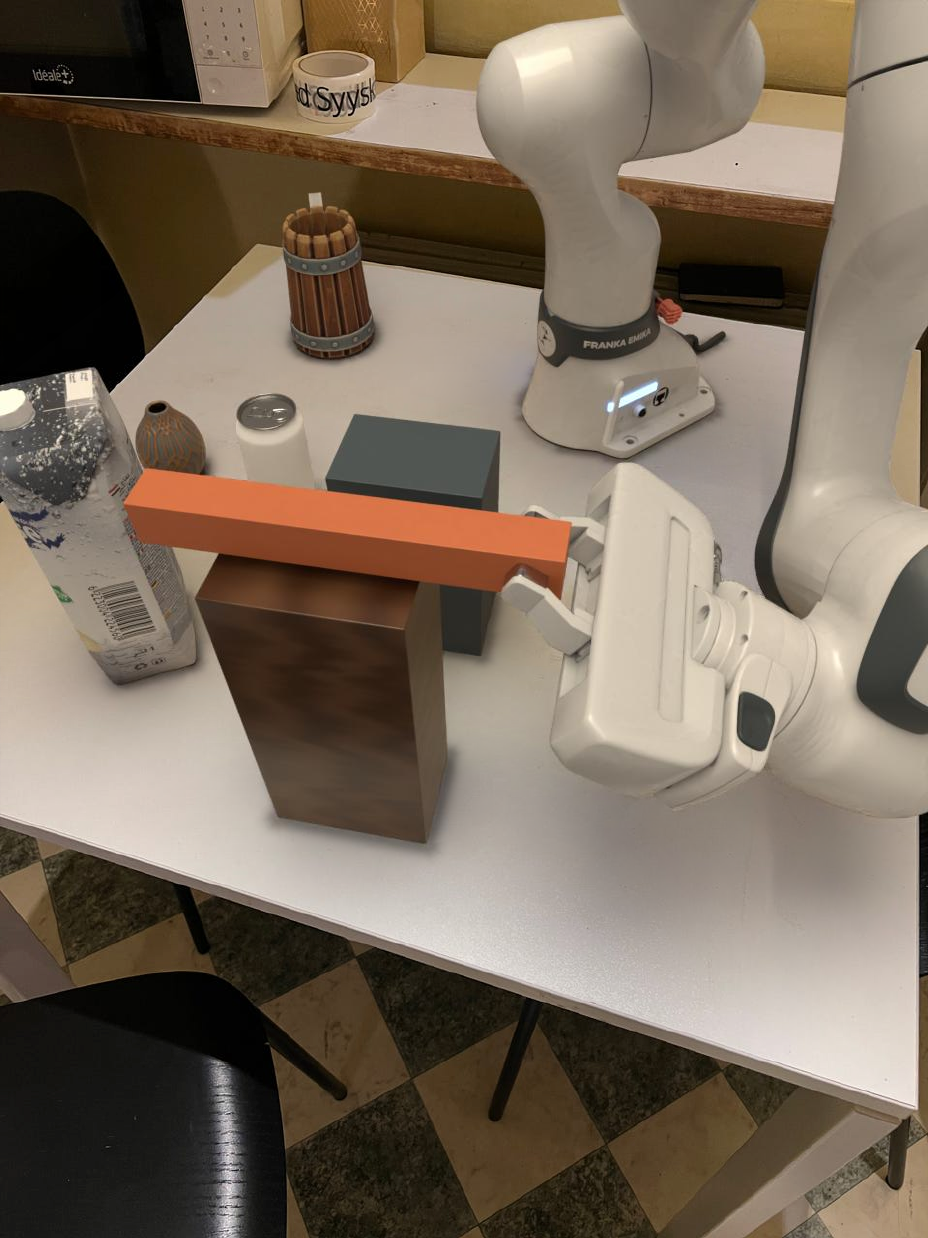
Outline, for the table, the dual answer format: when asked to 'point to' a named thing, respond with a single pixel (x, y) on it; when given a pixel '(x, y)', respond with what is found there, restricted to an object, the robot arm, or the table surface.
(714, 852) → the table surface
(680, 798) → the robot arm
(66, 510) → the juice carton
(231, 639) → the tall stand
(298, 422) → the can
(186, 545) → the rod
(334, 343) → the mug
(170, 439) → the vase
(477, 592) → the lower stand
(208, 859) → the table surface
